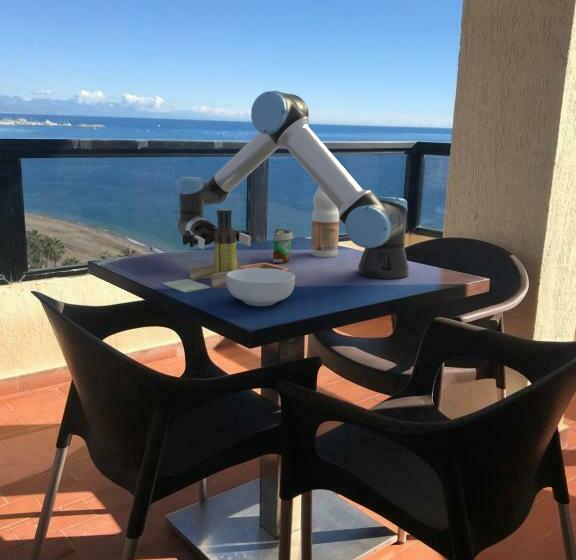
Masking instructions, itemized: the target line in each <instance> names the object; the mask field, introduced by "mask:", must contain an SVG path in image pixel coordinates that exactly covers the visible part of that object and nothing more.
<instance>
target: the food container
mask: <svg viewBox="0 0 576 560" xmlns="http://www.w3.org/2000/svg"><path fill="white" fill-rule="evenodd" d="M274 230H275V231H274V233H273V254H272V255H273V259H272V260H273V264H272V265H286V264H288V263H290V259H291V258H290V257H291V256H290V255H291V248H292V246H291V245H292V240H293V239H294V234H293V232H292V230H290V229H286V228H275V229H274Z"/></svg>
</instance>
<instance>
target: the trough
mask: <svg viewBox="0 0 576 560" xmlns="http://www.w3.org/2000/svg"><path fill="white" fill-rule="evenodd" d="M252 268H261V267H252ZM246 269H251V268H246ZM237 270H239V261H238V260H237ZM228 272H231V271H228ZM228 272H221V273H215V265H214V263H210V264H203V265H197V266H196V265H195V266H190V267H189V280H192V281H197V280H204V279H210V278H211V280H210V281H211V283H210V284H211V285H210V288H213V289H217V288H221V287H227V281H226V275H227V273H228Z"/></svg>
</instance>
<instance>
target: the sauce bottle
mask: <svg viewBox="0 0 576 560" xmlns="http://www.w3.org/2000/svg"><path fill="white" fill-rule="evenodd" d="M216 209H217V208H216ZM216 215H217V227H216V228H217V229H216V231H215V233H214V241H213V254H214V255H213V257H214V259H213V260H214V263H213V264H214V265H215V273H221V272H228V271H234V270H237V261H238V260H237V259H238V257H237V256H238V255H237V241H236V235H235V232H234V228H233V227H232V215H233V213H232V209H231V208H218V209H217V210H216Z"/></svg>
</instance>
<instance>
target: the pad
mask: <svg viewBox="0 0 576 560" xmlns="http://www.w3.org/2000/svg"><path fill="white" fill-rule="evenodd" d="M162 285H163V286H166V287H169V288H171V289H174V290H177V291H179V292H182V293H190V292H197V291H202V290H207V289H211V285H207V284H203V283H200V282H198V281H196V280H190V278H186V279H179V280H178V279H177V280H173V281H165V282H162Z"/></svg>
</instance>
